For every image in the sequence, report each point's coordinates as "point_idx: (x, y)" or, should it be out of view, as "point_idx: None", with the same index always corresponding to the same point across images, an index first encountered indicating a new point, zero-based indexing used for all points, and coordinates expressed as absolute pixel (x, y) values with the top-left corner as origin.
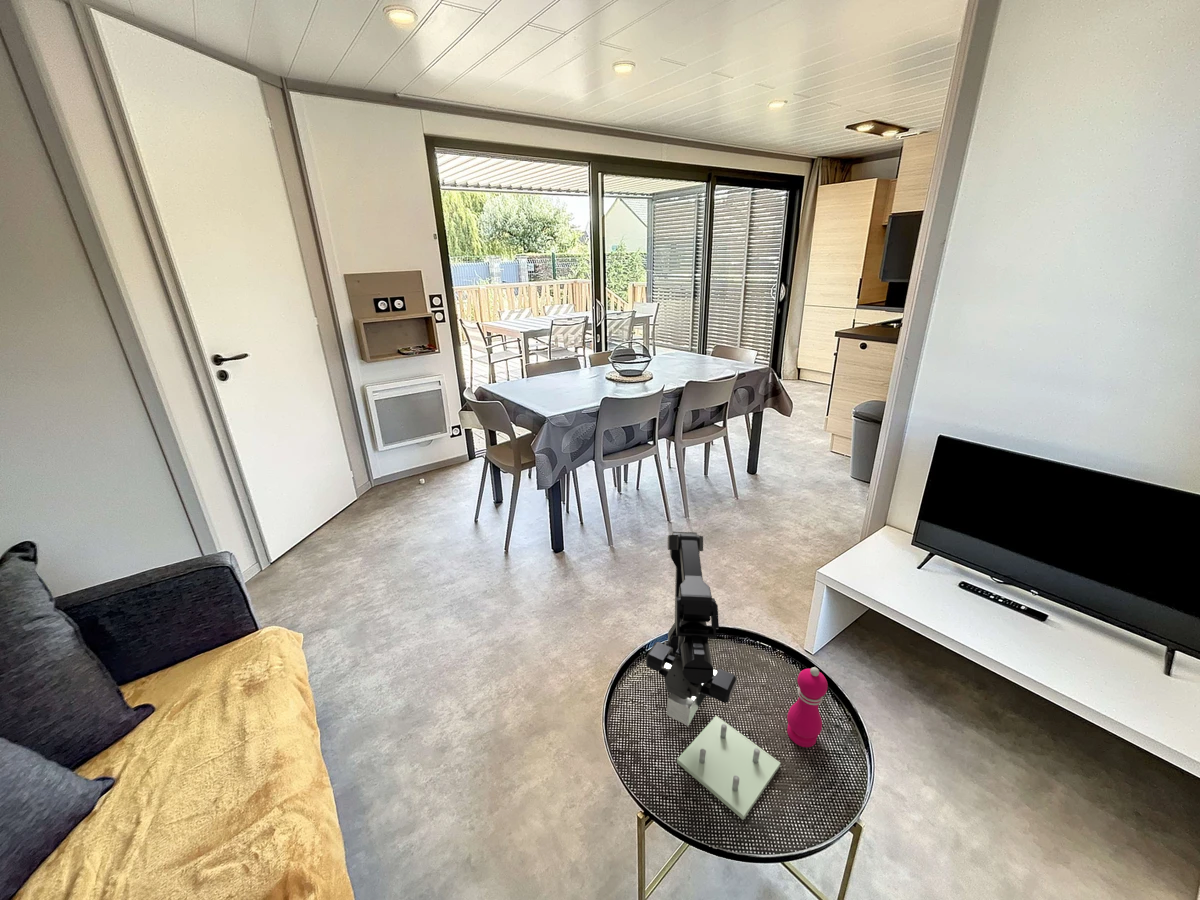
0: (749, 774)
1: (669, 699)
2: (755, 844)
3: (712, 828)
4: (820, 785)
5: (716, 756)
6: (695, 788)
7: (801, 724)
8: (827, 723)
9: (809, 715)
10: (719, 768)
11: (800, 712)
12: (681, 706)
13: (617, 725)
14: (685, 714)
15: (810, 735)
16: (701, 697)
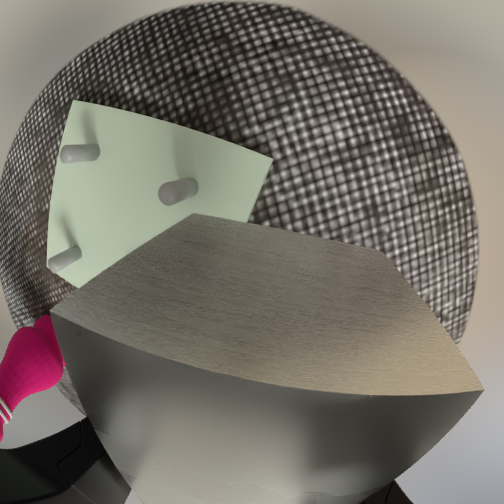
0: (76, 209)
1: (454, 378)
2: (65, 75)
3: (139, 42)
4: (15, 251)
5: (153, 223)
6: (196, 104)
7: (17, 346)
8: None
9: (3, 361)
10: (136, 187)
11: (13, 368)
12: (218, 336)
13: (472, 225)
14: (179, 256)
15: (19, 329)
16: (82, 440)
